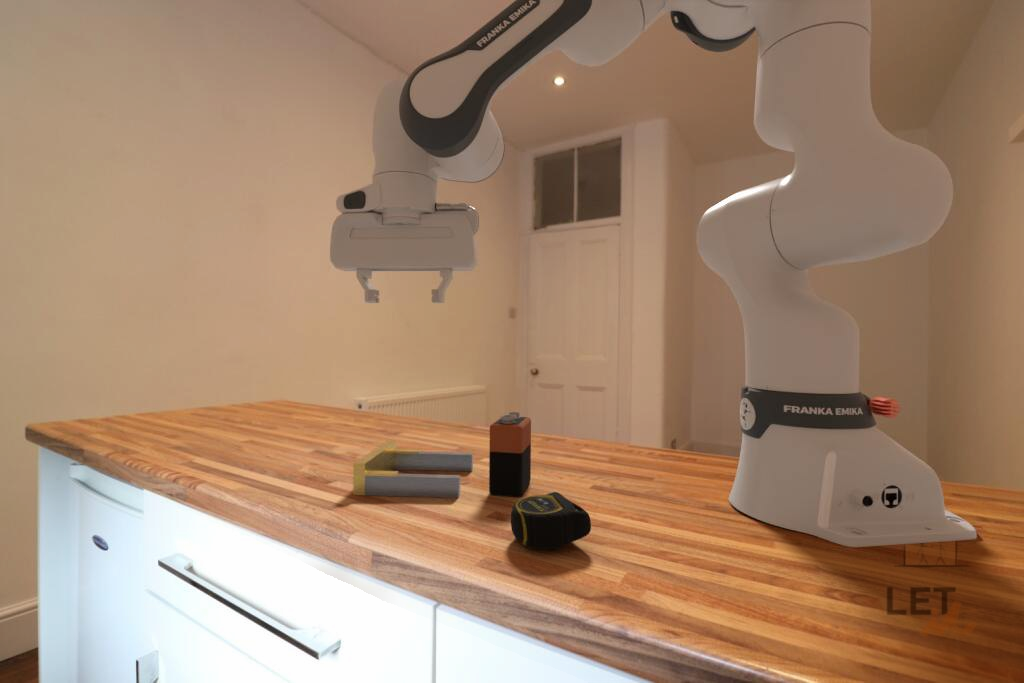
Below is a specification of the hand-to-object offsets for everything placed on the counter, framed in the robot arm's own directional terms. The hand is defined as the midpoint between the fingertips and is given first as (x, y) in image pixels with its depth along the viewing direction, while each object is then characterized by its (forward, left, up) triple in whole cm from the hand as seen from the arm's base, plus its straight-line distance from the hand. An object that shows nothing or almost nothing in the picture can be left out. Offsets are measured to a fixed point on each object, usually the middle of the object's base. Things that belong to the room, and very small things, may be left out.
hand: (404, 302), depth 63 cm
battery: (-15, +2, -25) cm, 29 cm away
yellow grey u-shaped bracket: (-3, 0, -25) cm, 25 cm away
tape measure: (-23, +18, -25) cm, 38 cm away
